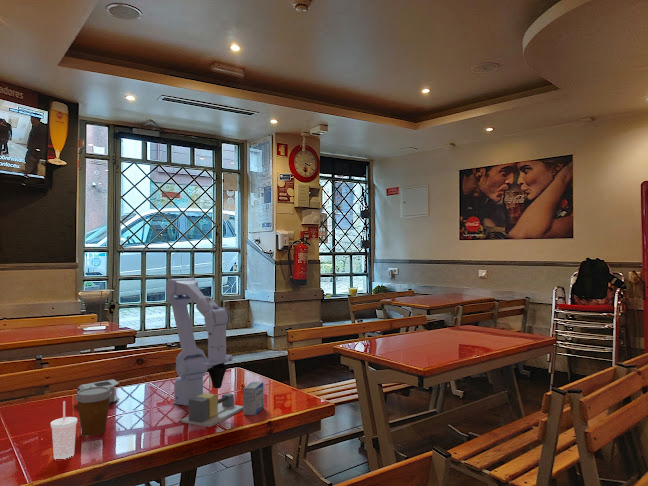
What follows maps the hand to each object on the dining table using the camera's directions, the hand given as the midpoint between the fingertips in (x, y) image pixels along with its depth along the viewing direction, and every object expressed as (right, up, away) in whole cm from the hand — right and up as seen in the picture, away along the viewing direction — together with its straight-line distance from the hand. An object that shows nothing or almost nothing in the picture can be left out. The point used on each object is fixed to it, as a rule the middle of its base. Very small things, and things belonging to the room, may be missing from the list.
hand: (217, 387), depth 153 cm
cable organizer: (-45, -9, +13) cm, 47 cm away
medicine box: (+12, -8, +1) cm, 14 cm away
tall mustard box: (-2, -7, -5) cm, 9 cm away
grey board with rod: (-1, -8, -2) cm, 8 cm away
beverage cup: (-32, -8, -32) cm, 46 cm away
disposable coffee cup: (-33, -8, -15) cm, 37 cm away
